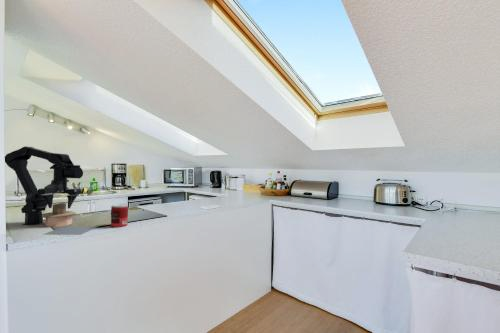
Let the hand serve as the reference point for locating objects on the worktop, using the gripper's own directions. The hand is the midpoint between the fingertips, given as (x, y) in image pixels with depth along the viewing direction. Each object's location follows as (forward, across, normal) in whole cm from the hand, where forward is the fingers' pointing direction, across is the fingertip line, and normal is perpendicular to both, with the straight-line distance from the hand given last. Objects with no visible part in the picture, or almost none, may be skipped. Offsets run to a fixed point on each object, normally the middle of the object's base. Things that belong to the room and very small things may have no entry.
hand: (59, 208), depth 133 cm
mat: (+9, +14, -12) cm, 20 cm away
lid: (+4, 0, 0) cm, 4 cm away
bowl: (+8, 0, 0) cm, 9 cm away
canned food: (+9, +31, -2) cm, 32 cm away
